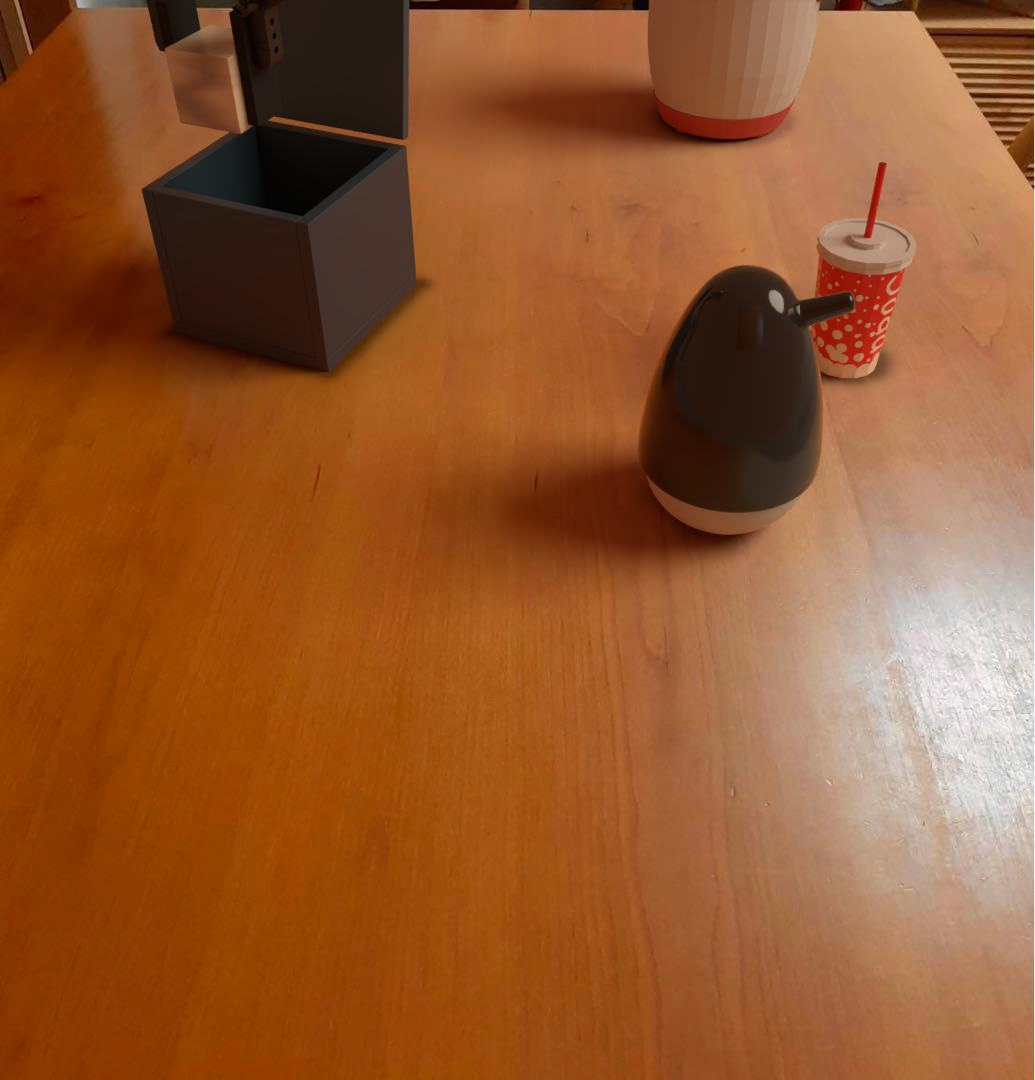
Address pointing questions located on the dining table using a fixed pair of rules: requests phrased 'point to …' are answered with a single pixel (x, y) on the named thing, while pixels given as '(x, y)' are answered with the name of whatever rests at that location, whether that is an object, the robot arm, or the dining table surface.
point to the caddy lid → (346, 64)
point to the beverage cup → (859, 287)
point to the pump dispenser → (737, 403)
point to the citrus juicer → (729, 62)
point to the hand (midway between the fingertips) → (230, 110)
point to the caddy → (285, 240)
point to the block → (208, 80)
